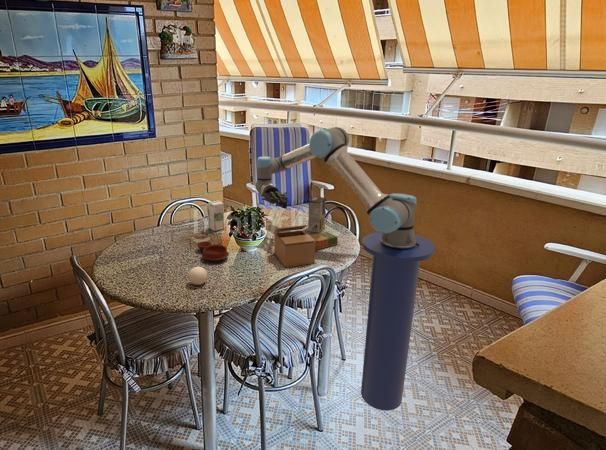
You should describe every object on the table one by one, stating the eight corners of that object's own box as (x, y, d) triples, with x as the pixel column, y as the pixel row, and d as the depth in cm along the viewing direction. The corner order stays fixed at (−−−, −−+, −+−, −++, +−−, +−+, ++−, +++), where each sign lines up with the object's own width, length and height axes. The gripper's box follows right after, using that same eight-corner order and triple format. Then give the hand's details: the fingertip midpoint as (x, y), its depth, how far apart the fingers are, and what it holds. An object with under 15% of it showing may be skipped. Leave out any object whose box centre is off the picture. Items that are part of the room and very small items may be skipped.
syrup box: (218, 226, 216) (217, 199, 211) (224, 229, 211) (223, 202, 207) (209, 228, 213) (207, 201, 208) (214, 231, 208) (213, 204, 204)
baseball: (212, 282, 156) (211, 266, 154) (197, 289, 151) (196, 273, 149) (200, 277, 161) (199, 261, 158) (185, 284, 155) (184, 268, 153)
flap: (274, 232, 178) (274, 231, 178) (302, 229, 181) (302, 228, 181) (279, 228, 171) (278, 227, 171) (307, 225, 174) (307, 224, 174)
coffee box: (313, 225, 215) (314, 196, 209) (325, 227, 212) (326, 197, 207) (307, 231, 207) (308, 200, 202) (319, 233, 204) (320, 202, 199)
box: (274, 253, 182) (274, 231, 178) (301, 249, 185) (302, 228, 181) (285, 267, 168) (285, 244, 165) (314, 263, 171) (315, 240, 168)
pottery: (209, 266, 169) (208, 257, 168) (189, 251, 185) (189, 242, 184) (233, 260, 175) (233, 250, 174) (212, 245, 191) (212, 236, 190)
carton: (299, 246, 189) (299, 237, 187) (326, 239, 197) (326, 230, 195) (310, 252, 182) (310, 243, 181) (337, 244, 190) (338, 235, 188)
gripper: (282, 198, 205) (298, 211, 184) (257, 200, 202) (271, 214, 181) (282, 183, 203) (299, 195, 181) (257, 185, 200) (271, 198, 178)
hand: (285, 205), depth 181 cm, fingers closed
